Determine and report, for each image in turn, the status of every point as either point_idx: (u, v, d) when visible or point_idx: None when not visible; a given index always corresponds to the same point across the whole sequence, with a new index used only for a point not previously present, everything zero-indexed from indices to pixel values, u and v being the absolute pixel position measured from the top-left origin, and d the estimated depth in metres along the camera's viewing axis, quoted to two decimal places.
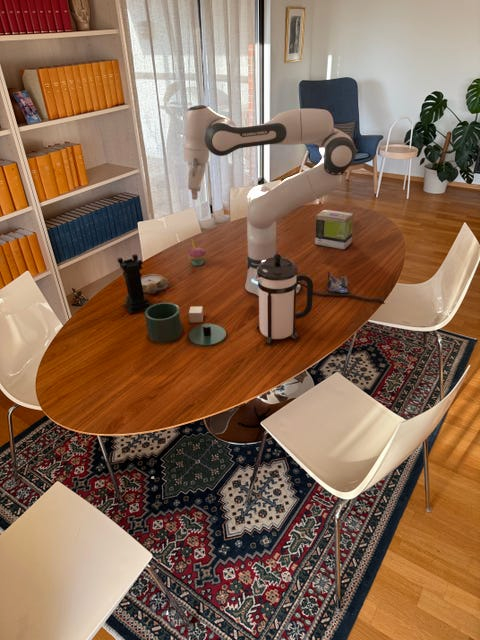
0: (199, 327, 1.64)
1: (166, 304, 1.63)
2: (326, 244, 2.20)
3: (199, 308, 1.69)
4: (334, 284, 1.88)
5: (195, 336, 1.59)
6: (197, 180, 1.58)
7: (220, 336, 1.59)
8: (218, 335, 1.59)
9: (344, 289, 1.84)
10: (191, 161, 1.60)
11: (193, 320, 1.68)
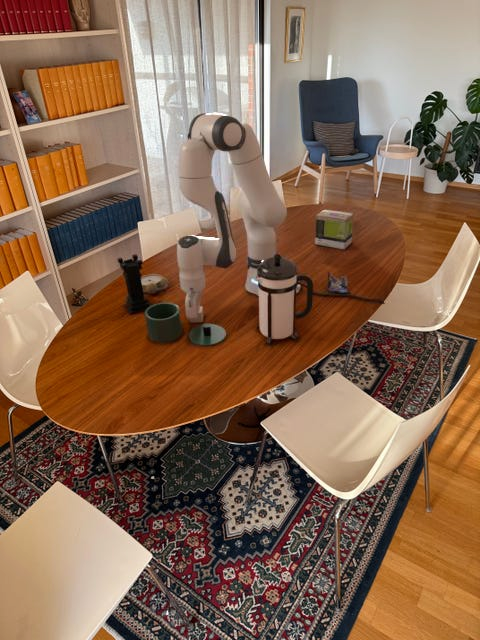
0: (199, 327, 1.64)
1: (166, 304, 1.63)
2: (326, 244, 2.20)
3: (199, 308, 1.69)
4: (334, 284, 1.88)
5: (195, 336, 1.59)
6: (195, 310, 1.57)
7: (220, 336, 1.59)
8: (218, 335, 1.59)
9: (344, 289, 1.84)
10: (187, 290, 1.59)
11: None
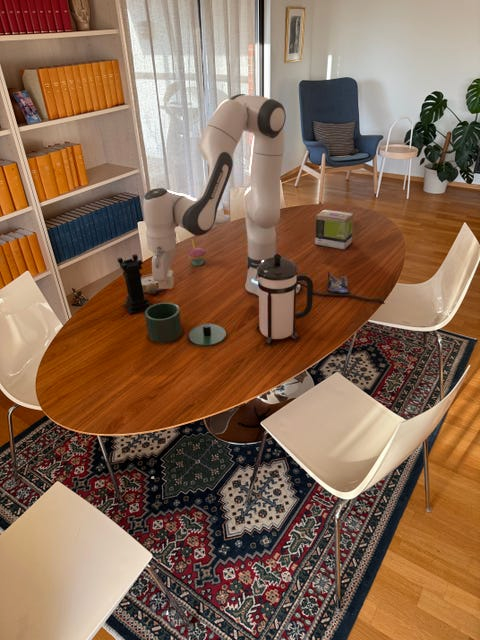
0: (199, 327, 1.64)
1: (166, 304, 1.63)
2: (326, 244, 2.20)
3: (169, 272, 1.53)
4: (334, 284, 1.88)
5: (195, 336, 1.59)
6: (162, 271, 1.42)
7: (220, 336, 1.59)
8: (218, 335, 1.59)
9: (344, 289, 1.84)
10: (155, 250, 1.44)
11: None
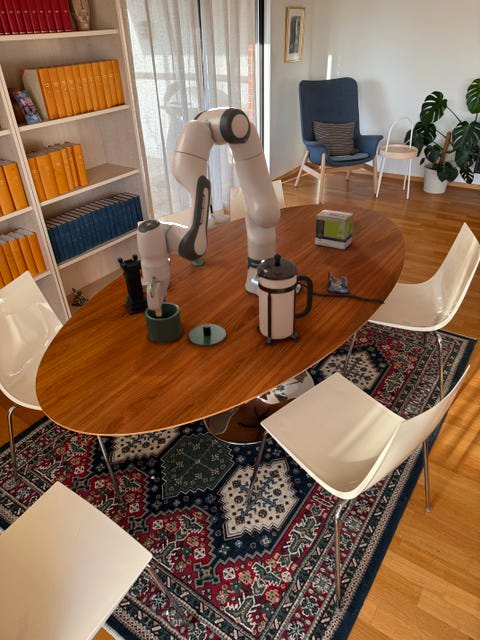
0: (199, 327, 1.64)
1: (166, 304, 1.63)
2: (326, 244, 2.20)
3: None
4: (334, 284, 1.88)
5: (195, 336, 1.59)
6: (157, 301, 1.45)
7: (220, 336, 1.59)
8: (218, 335, 1.59)
9: (344, 289, 1.84)
10: (149, 279, 1.47)
11: None
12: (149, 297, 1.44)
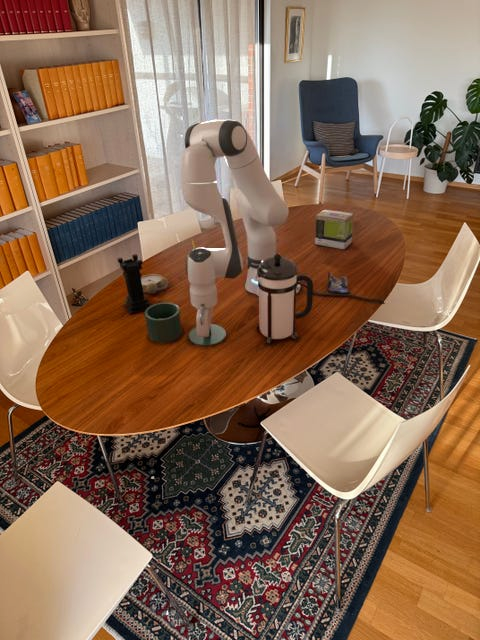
0: None
1: (166, 304, 1.63)
2: (326, 244, 2.20)
3: None
4: (334, 284, 1.88)
5: (195, 336, 1.59)
6: (206, 328, 1.47)
7: (220, 336, 1.59)
8: (218, 335, 1.59)
9: (344, 289, 1.84)
10: (198, 306, 1.50)
11: None
12: (199, 324, 1.47)
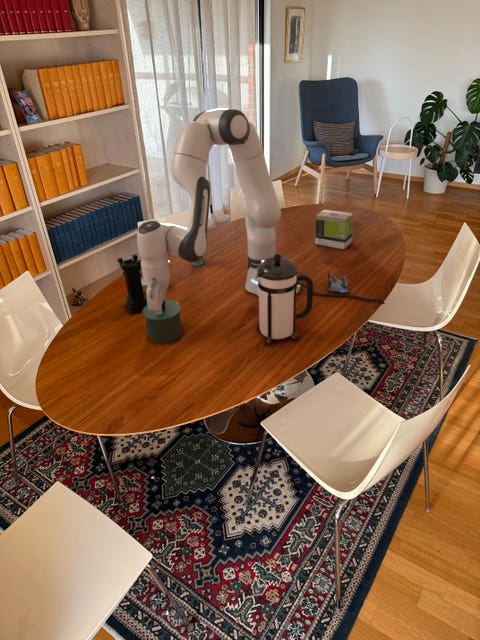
0: None
1: None
2: (326, 244, 2.20)
3: None
4: (334, 284, 1.88)
5: (149, 311, 1.57)
6: (157, 302, 1.45)
7: (174, 311, 1.56)
8: (172, 310, 1.57)
9: (344, 289, 1.84)
10: (149, 280, 1.47)
11: None
12: (149, 298, 1.45)
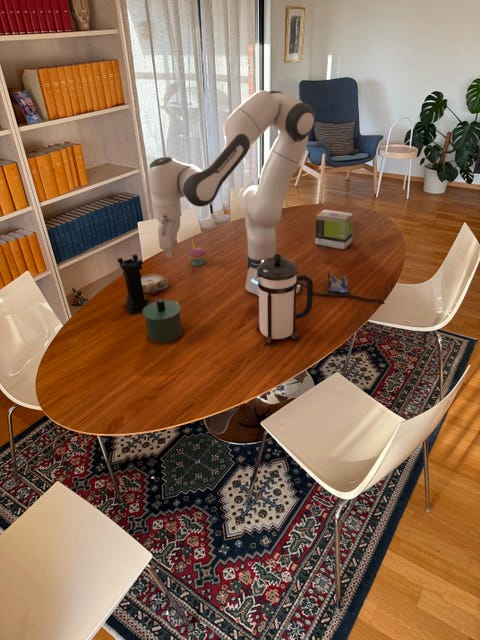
0: (154, 303, 1.62)
1: None
2: (326, 244, 2.20)
3: None
4: (334, 284, 1.88)
5: (149, 311, 1.57)
6: (168, 239, 1.44)
7: (174, 311, 1.56)
8: (172, 310, 1.57)
9: (344, 289, 1.84)
10: (161, 218, 1.47)
11: None
12: (160, 235, 1.44)
